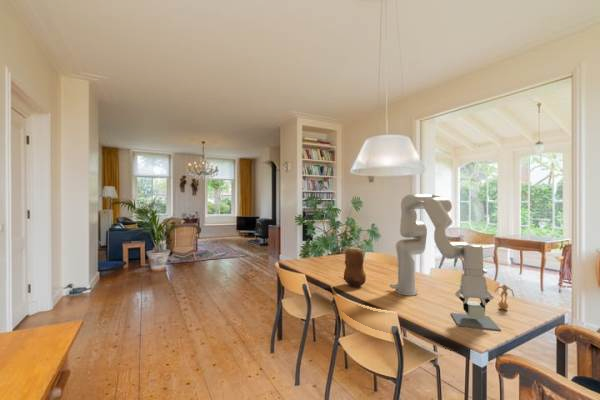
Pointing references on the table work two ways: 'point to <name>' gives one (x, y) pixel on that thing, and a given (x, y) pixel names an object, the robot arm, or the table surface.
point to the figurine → (502, 303)
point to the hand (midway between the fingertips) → (474, 312)
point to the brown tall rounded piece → (354, 267)
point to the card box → (475, 310)
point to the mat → (474, 322)
